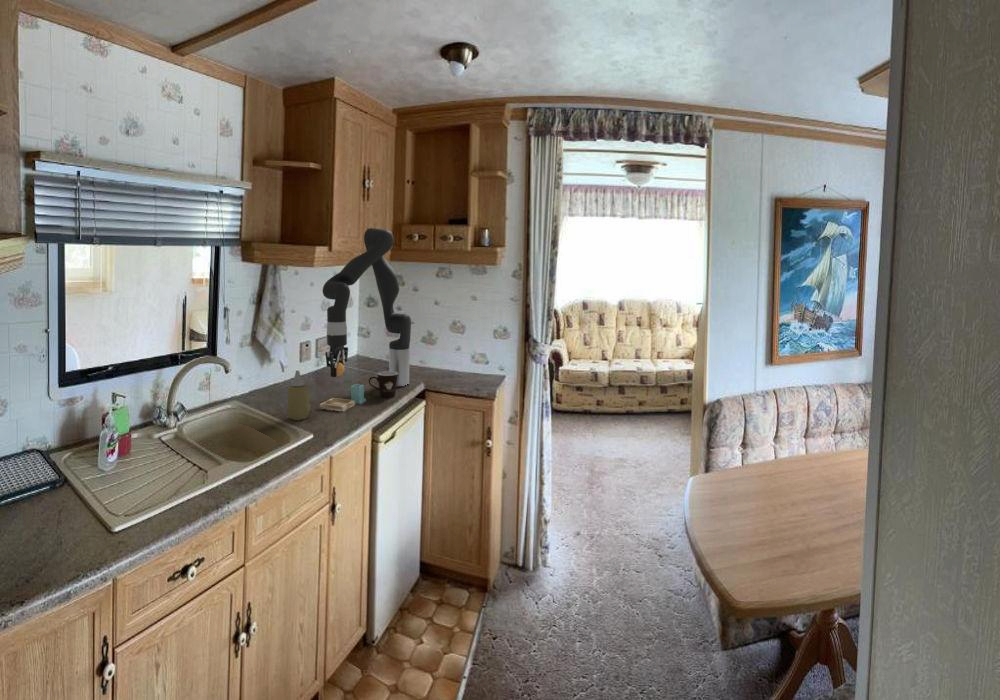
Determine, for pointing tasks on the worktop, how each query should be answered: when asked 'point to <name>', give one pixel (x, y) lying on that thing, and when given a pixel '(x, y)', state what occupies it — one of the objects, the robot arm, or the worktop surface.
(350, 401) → the tray
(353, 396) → the teal box
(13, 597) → the worktop surface
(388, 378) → the coffee mug
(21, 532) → the worktop surface
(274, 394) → the worktop surface
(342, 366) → the ball
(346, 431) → the worktop surface
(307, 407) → the squeeze bottle
